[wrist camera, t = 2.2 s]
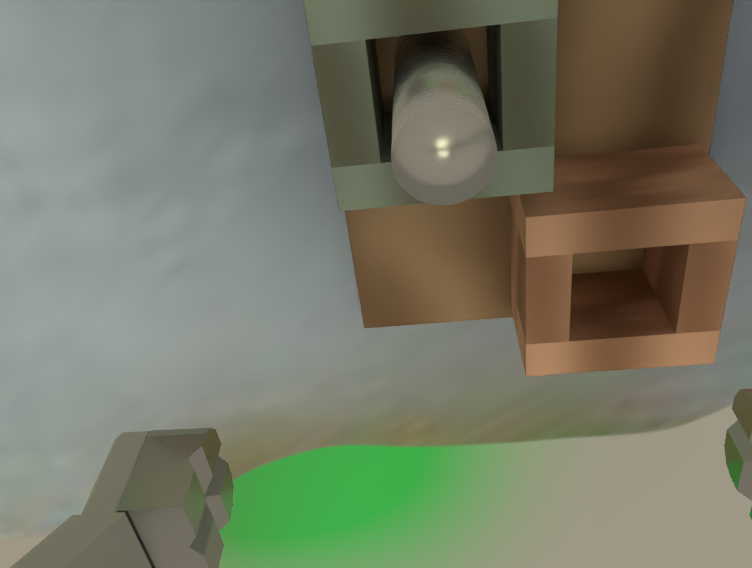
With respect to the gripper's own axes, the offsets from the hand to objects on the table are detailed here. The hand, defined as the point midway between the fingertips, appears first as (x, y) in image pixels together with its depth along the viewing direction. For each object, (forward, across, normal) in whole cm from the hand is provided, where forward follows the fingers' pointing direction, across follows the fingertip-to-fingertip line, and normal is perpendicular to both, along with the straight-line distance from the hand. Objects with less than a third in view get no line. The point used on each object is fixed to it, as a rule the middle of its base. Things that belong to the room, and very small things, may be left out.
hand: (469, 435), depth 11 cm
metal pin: (+21, 0, 0) cm, 21 cm away
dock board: (+22, -4, +4) cm, 23 cm away
